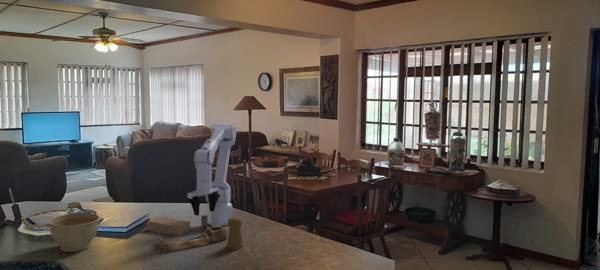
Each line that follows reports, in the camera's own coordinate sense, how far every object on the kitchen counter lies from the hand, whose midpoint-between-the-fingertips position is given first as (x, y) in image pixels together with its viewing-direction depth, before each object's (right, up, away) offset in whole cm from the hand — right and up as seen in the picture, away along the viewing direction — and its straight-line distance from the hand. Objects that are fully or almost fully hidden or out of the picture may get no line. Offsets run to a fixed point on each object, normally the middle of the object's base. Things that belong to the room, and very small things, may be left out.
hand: (204, 213), depth 172 cm
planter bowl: (-44, -10, -15) cm, 47 cm away
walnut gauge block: (+5, -10, -3) cm, 11 cm away
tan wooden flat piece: (-6, -10, -9) cm, 14 cm away
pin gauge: (0, -9, +1) cm, 9 cm away
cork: (+14, -11, -11) cm, 21 cm away
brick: (-16, -9, +7) cm, 20 cm away
